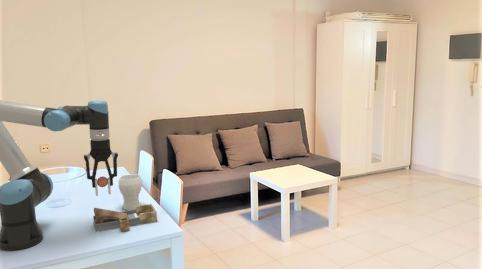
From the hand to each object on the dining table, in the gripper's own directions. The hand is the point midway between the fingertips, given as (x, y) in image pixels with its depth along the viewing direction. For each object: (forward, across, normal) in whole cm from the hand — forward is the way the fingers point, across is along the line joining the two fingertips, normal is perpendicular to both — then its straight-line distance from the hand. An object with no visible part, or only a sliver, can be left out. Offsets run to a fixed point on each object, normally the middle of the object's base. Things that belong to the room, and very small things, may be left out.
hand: (103, 193), depth 166 cm
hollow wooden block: (+14, +7, -8) cm, 17 cm away
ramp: (+13, +3, +1) cm, 13 cm away
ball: (-5, 0, 0) cm, 5 cm away
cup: (+14, +14, +18) cm, 27 cm away
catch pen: (+14, +17, +1) cm, 22 cm away
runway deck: (+14, +5, +1) cm, 15 cm away
